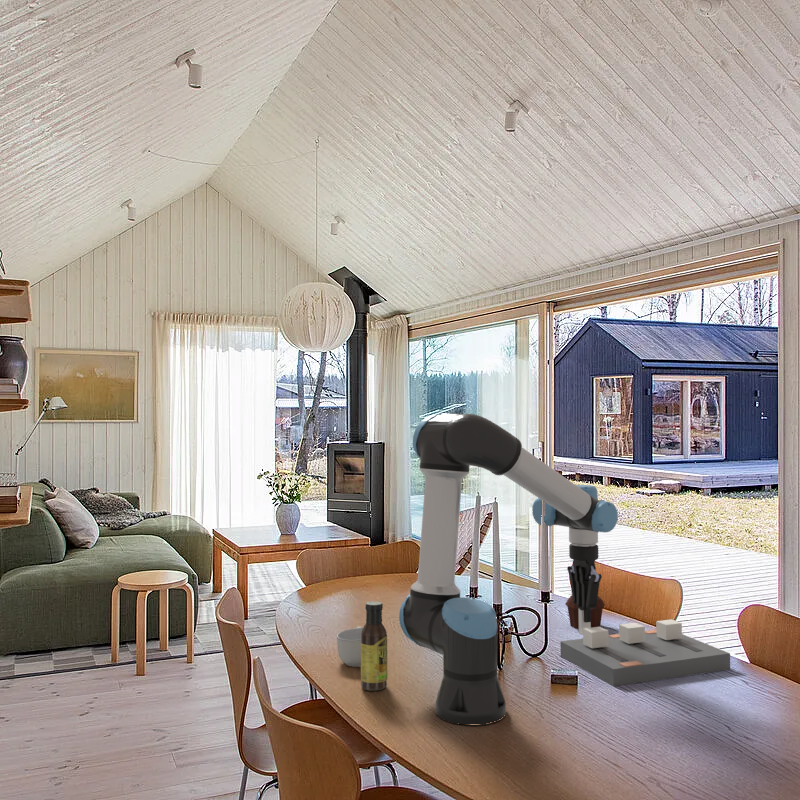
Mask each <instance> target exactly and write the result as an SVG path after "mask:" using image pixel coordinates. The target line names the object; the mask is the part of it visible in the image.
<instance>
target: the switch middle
mask: <svg viewBox="0 0 800 800" xmlns="http://www.w3.org/2000/svg"><path fill="white" fill-rule="evenodd" d="M618 631H619V632H618V634H620V640H621V641H624V642H626V643H628V644H632V643H640V642H645V631H646V628H645V625H642V624H640V623H637V622H629V623H621V624H619V630H618Z"/></svg>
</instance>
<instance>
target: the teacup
mask: <svg viewBox="0 0 800 800" xmlns="http://www.w3.org/2000/svg"><path fill="white" fill-rule="evenodd" d="M362 629H363V627H362V626H357V627H354V628H353V627H352V628H348V629H344V630H342V631H339V632H338V633H337V634H336V639H337V641H336V644H337V652H338V657H339V659H340V661H341V662H342V663H344V664H345V665H346V666H348V667H351V666H352V668H355V667H356V668H361V632H362Z"/></svg>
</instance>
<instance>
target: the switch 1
mask: <svg viewBox="0 0 800 800" xmlns="http://www.w3.org/2000/svg"><path fill="white" fill-rule="evenodd" d="M609 635H610V634H609V630H608V629H606V628H603V627H601V626H600V627H593V628H584V629H583V635H582V636H583V637H582V639H583V644H584V645H586V646H588V647H590V648H600V647H608V646H609Z"/></svg>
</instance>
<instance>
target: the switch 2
mask: <svg viewBox="0 0 800 800" xmlns="http://www.w3.org/2000/svg"><path fill="white" fill-rule="evenodd" d="M655 624H656V625H655V626H656V628H655V630H656V636H657V637H660V638H662V639H664V640H672V639H680V638H682V634H683V626H682V622H680V621H677V620H675V619H664V620H657V621H656V622H655Z"/></svg>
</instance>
